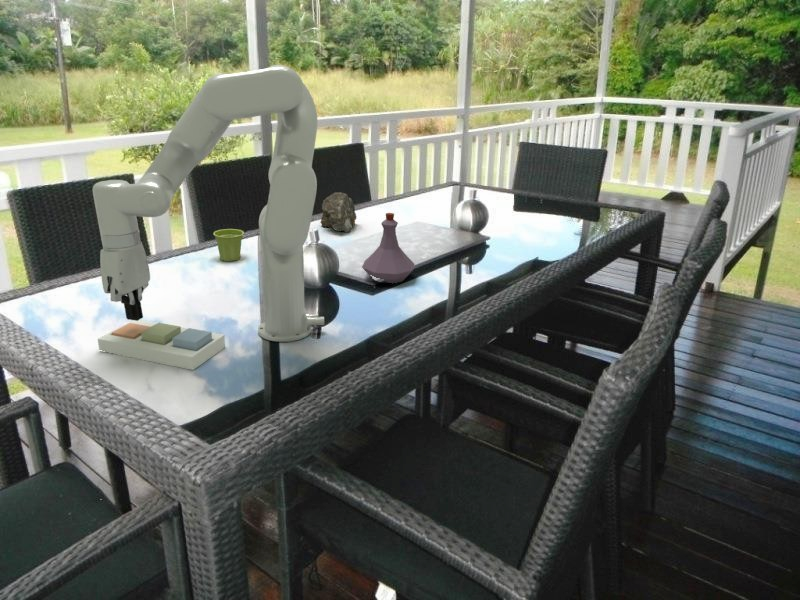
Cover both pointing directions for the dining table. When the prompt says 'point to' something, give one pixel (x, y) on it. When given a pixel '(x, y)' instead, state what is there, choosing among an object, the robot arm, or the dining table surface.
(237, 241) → the plant pot
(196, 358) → the keypad
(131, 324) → the terracotta key
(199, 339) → the slate blue key
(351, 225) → the rock
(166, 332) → the olive key
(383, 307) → the dining table surface
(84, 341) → the dining table surface
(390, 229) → the flask
